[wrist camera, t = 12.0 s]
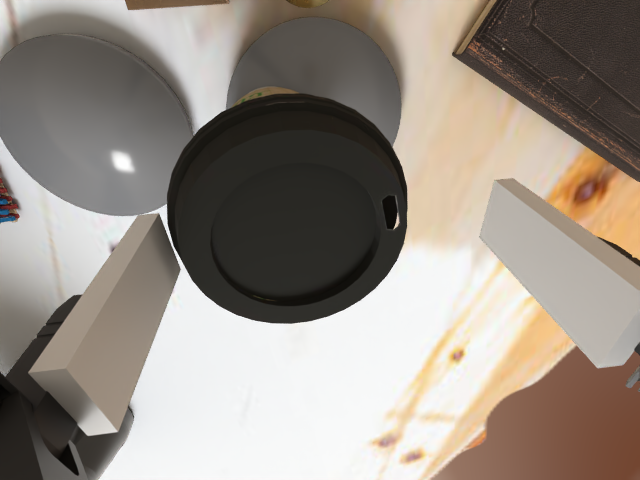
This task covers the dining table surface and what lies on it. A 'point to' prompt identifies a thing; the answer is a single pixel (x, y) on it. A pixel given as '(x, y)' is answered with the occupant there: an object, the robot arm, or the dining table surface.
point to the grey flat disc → (91, 123)
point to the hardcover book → (567, 67)
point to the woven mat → (7, 206)
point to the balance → (203, 3)
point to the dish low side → (323, 69)
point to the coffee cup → (287, 207)
